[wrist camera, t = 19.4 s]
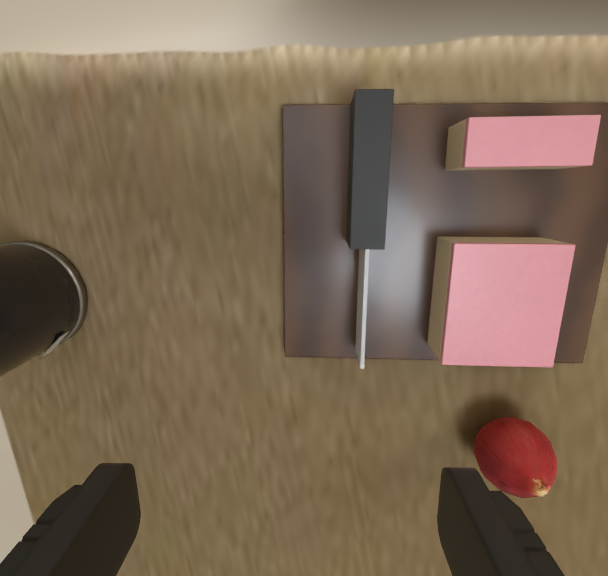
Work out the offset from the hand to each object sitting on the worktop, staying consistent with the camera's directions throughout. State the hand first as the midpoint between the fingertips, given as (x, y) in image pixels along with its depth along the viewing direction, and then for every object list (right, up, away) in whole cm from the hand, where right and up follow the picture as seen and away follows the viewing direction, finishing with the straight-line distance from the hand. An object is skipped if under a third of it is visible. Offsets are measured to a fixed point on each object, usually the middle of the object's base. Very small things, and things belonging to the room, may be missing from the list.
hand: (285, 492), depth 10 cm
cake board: (+11, +9, +21) cm, 25 cm away
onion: (+18, -7, +25) cm, 31 cm away
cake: (+15, +5, +20) cm, 26 cm away
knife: (+5, +9, +20) cm, 22 cm away
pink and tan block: (+15, +16, +18) cm, 28 cm away
